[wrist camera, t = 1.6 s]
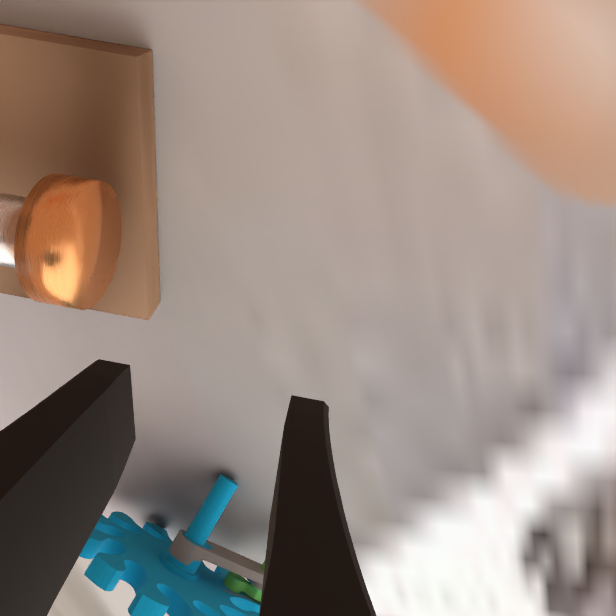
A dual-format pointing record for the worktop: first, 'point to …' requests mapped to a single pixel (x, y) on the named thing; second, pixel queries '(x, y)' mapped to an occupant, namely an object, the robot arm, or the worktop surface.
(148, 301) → the bearing stand
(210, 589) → the gear
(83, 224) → the shaft
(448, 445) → the worktop surface
